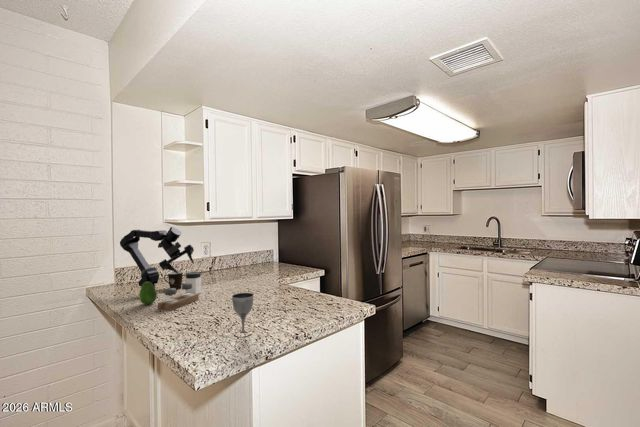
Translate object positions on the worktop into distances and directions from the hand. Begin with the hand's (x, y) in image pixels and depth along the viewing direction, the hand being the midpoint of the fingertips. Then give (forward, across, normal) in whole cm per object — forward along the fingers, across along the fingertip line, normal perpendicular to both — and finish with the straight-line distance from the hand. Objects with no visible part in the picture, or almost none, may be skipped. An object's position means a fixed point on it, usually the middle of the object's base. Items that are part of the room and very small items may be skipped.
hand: (185, 268), depth 168 cm
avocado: (+4, -24, +6) cm, 25 cm away
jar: (+8, -3, +21) cm, 22 cm away
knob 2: (+10, -6, +3) cm, 12 cm away
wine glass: (+54, -4, -42) cm, 68 cm away
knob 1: (+10, -14, -6) cm, 18 cm away
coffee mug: (-7, -8, +35) cm, 37 cm away
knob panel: (+14, -13, +2) cm, 19 cm away
